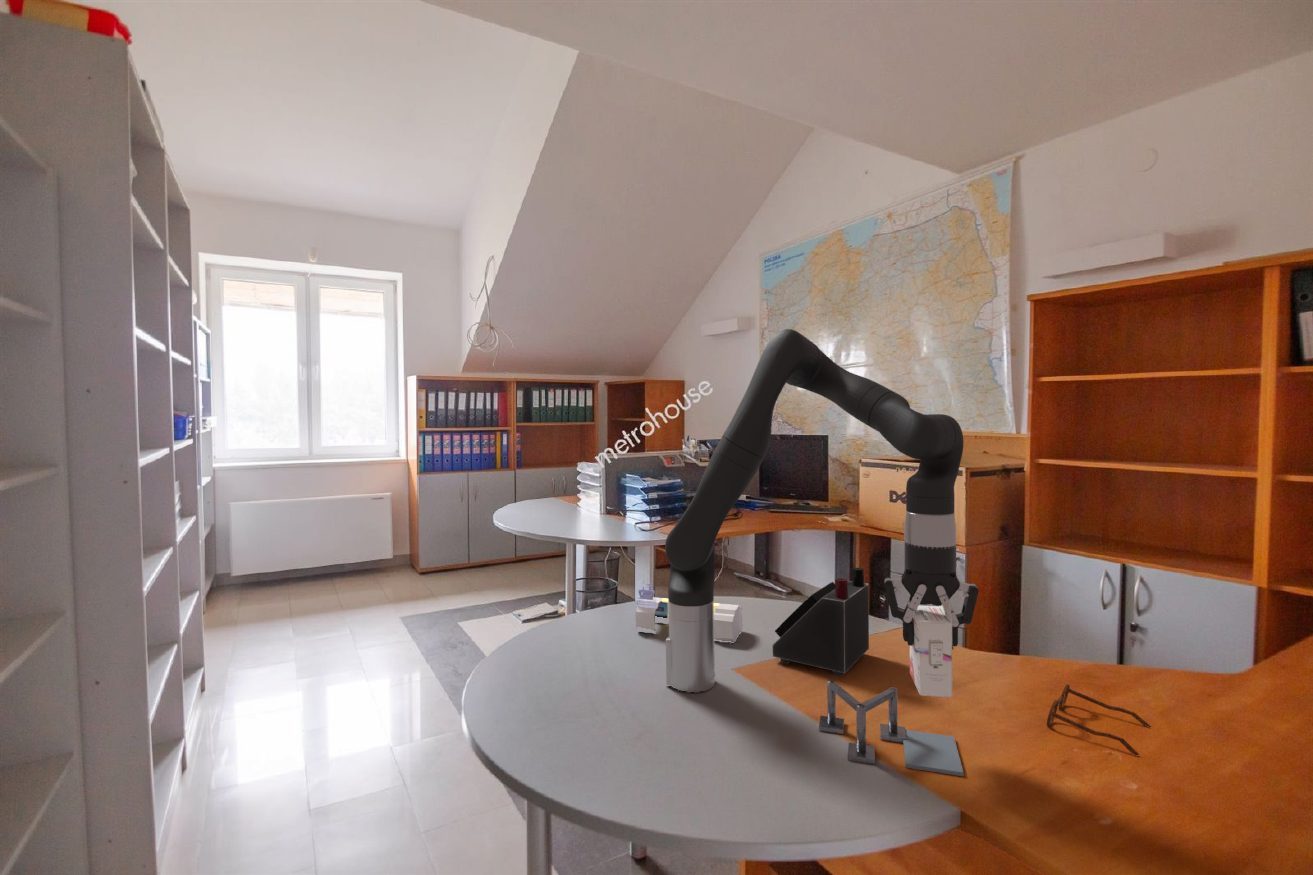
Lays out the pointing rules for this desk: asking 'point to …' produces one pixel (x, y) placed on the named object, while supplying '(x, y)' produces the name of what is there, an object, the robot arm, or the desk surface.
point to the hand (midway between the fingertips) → (930, 645)
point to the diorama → (650, 606)
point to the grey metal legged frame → (862, 721)
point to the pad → (932, 753)
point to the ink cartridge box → (932, 651)
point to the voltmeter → (828, 627)
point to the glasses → (1061, 705)
